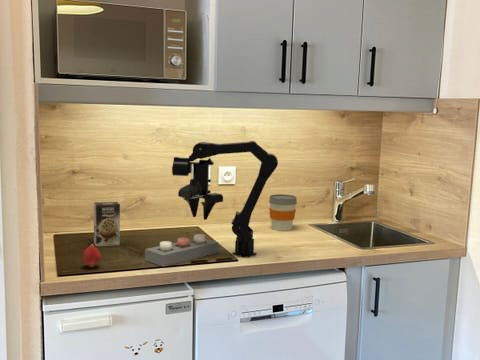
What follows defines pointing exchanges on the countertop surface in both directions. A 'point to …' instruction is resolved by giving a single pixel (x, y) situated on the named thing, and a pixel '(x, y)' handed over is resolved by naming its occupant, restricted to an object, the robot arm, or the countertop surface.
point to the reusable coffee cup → (282, 211)
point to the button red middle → (182, 242)
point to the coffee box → (106, 223)
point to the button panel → (180, 252)
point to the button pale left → (165, 246)
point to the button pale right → (199, 238)
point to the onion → (91, 256)
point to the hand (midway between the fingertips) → (199, 218)
